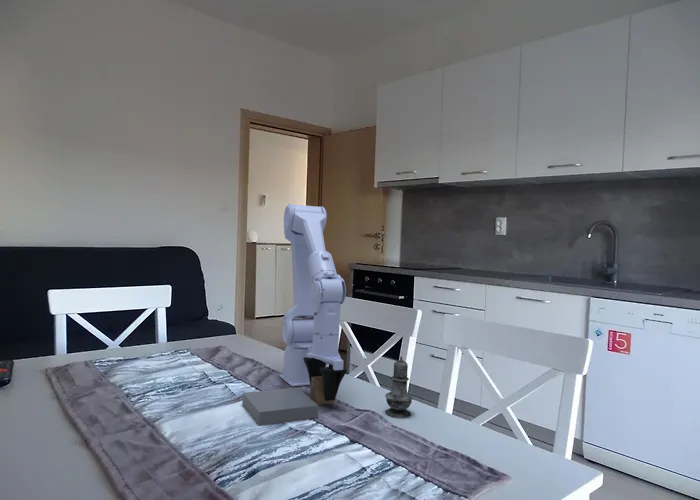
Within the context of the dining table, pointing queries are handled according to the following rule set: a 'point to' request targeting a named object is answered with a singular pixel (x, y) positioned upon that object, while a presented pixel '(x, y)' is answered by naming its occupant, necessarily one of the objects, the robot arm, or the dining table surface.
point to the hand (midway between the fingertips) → (322, 394)
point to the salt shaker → (399, 392)
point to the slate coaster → (279, 406)
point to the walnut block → (318, 391)
